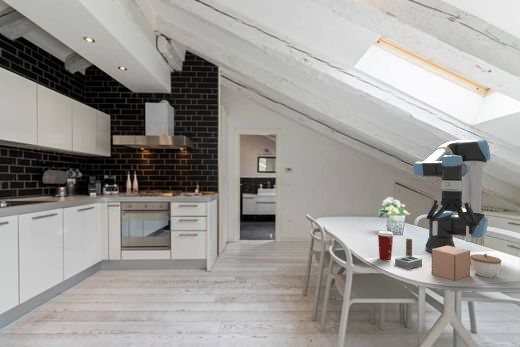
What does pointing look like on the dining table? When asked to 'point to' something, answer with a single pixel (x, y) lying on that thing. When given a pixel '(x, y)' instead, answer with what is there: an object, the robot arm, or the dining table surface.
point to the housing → (451, 262)
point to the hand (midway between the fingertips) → (450, 238)
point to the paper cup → (385, 244)
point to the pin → (408, 247)
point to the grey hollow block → (408, 262)
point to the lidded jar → (485, 265)
